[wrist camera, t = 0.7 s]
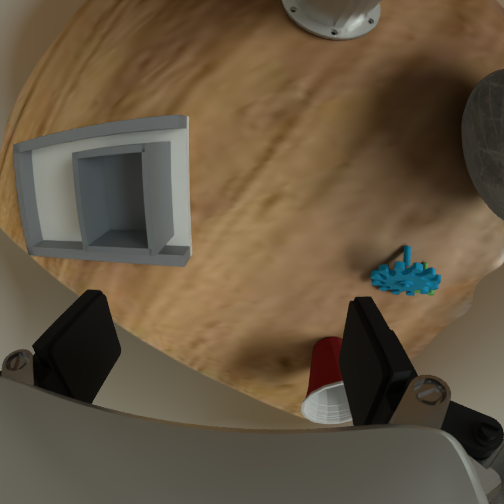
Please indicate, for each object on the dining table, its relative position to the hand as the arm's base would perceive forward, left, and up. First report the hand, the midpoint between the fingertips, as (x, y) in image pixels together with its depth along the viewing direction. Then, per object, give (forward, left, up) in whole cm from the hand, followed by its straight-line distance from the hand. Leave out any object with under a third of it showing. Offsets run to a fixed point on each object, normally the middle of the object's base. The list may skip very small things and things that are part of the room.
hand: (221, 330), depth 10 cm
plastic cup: (+25, +13, -27) cm, 39 cm away
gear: (+10, +21, -27) cm, 35 cm away
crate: (0, -16, -26) cm, 30 cm away
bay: (0, -22, -27) cm, 35 cm away
